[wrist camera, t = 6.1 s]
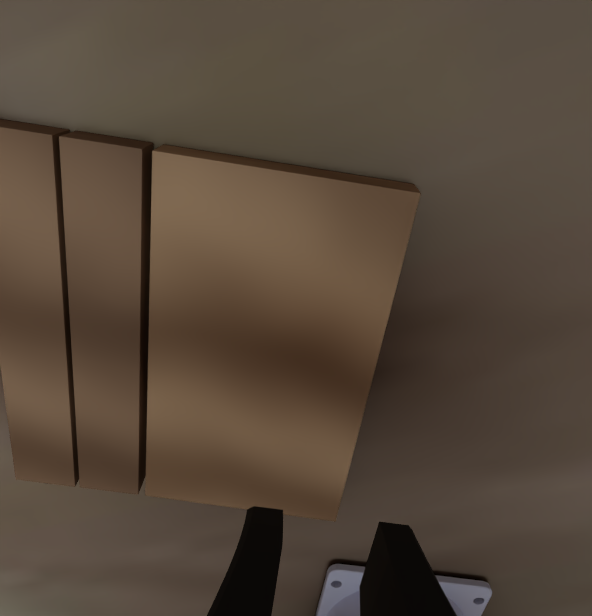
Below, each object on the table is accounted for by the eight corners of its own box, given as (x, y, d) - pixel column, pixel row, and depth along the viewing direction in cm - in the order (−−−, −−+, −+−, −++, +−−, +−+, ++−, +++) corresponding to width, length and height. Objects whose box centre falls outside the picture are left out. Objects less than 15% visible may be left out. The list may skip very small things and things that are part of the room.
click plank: (334, 499, 22) (335, 521, 21) (153, 474, 22) (145, 495, 21) (414, 184, 16) (420, 193, 15) (163, 144, 16) (152, 150, 15)
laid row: (146, 473, 22) (138, 494, 21) (30, 458, 22) (15, 479, 21) (153, 142, 16) (142, 148, 15) (-9, 117, 16) (-33, 122, 15)
